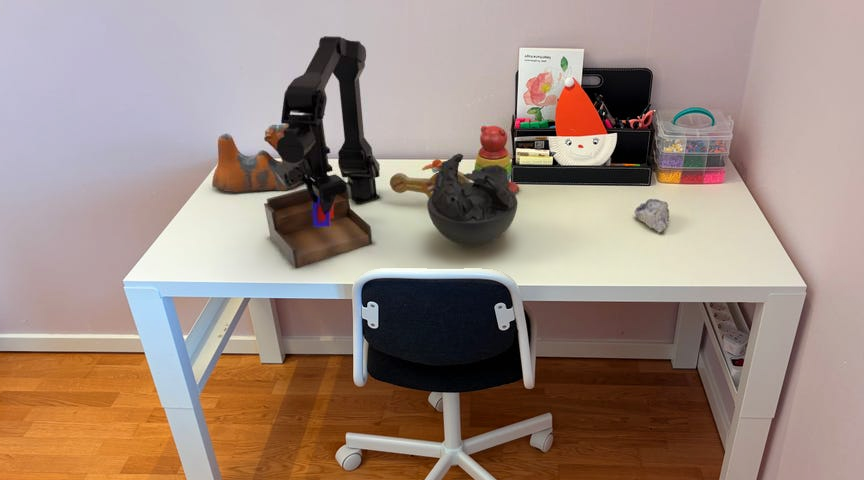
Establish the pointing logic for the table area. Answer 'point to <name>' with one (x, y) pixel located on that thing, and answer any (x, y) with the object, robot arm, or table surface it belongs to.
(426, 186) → the toy helicopter
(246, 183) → the camel toy
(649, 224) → the mineral specimen
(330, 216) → the toy building block
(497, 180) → the coal bowl
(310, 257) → the shelf
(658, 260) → the table surface
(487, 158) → the stacking bear
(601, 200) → the table surface
